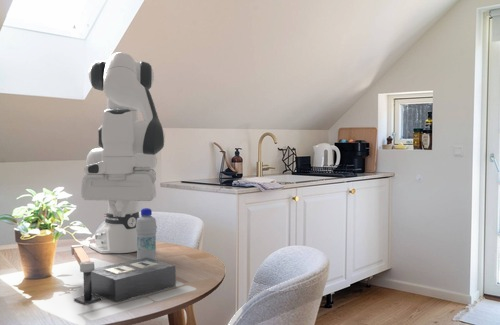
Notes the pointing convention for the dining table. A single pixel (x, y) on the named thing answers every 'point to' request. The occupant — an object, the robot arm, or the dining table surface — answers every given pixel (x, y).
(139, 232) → the bottle
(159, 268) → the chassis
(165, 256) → the dining table surface
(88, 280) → the pivot post
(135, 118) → the robot arm
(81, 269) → the swing arm
